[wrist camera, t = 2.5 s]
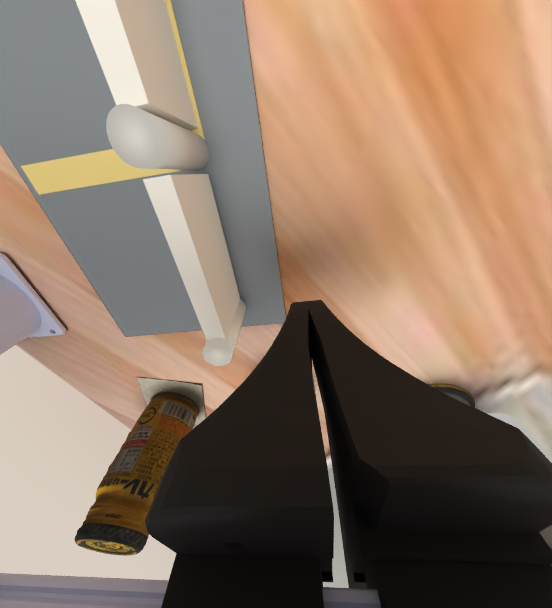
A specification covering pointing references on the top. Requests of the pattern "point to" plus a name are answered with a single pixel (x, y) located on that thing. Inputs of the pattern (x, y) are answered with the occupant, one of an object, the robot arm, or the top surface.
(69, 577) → the robot arm
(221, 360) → the fence panel
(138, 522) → the condiment
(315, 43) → the top surface
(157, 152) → the fixed fence section
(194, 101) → the board
